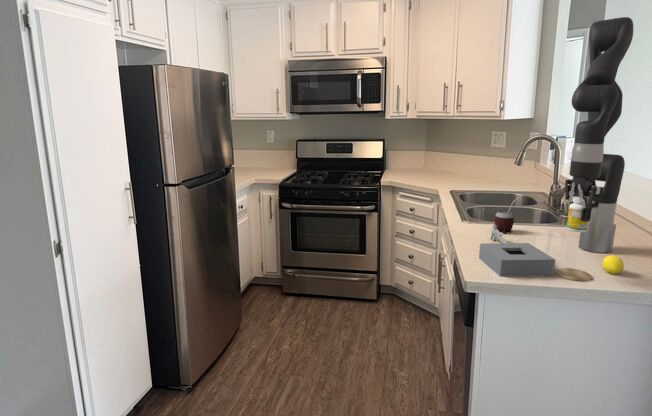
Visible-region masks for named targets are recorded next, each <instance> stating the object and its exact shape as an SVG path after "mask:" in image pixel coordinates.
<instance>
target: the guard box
mask: <svg viewBox="0 0 652 416" xmlns="http://www.w3.org/2000/svg"><path fill="white" fill-rule="evenodd" d="M478 252H479V253H478V259H479V260H480V261H482V262H483V264H485V265H486V266H487V267H488V268H490V269H491V270H492V271H493V272H494V273H496V274H497V275H498V276H499V277H538V276H539V277H545V276H546V277H547V276H549V277H553V276H554V275H555V274H554V273H555V265H556V259H555V258H554V257H552V256H550V255H549V254H547V253H545V252H544V251H542V250H541V249H538V248H537V247H536V246H534V245H532V244H530V243H529V242H519V243H518V242H508V243H501V242H497V243H496V242H495V243H494V242H493V243H488V242H487V243H486V242H485V243H483V242H482V243H481V242H480V243H479V251H478Z"/></svg>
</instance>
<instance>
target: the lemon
mask: <svg viewBox="0 0 652 416" xmlns="http://www.w3.org/2000/svg"><path fill="white" fill-rule="evenodd" d="M624 265H625V264H624V261H623V259H622V258H621V257H619V256H618V255H611V254H610V255H607V256H605V257H604V258H603V260H602V263H601V266H602V267H603V268H602V269H603V270H604V271H605V272H607V273H608V272H609V274H612V275H615V274H616V275H617V274H619V273H621V272H622V271H624V267H625V266H624Z"/></svg>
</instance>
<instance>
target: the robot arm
mask: <svg viewBox="0 0 652 416" xmlns="http://www.w3.org/2000/svg"><path fill="white" fill-rule="evenodd" d="M588 35H589V36H588V37H589V38H588V40H589V41H588V42H589V43H588V48H589V49H588V50H589V53H588V55H589V68H588V71H587V74H586V77H585V78H584V79H583V80H582V81H581V83H580V84H578V86H577V87H576V88H575V90H574V92H573V94H572V96H571V106H572V107H573V109H574V110H575V111H576V112H580V113H587V120H584V121H580V122H577V124H576V127H575V133H574V135H575V136H574V142H573V147H572V150H571V155H570V156H571V158H570V164H569V165H570V166H569V176H570V177H572V179H566V180H565V183H564V187H565V188H564V189H565V191H564V199H565V200H567V201H568V204H569V206H570V205H571V204H573V203H574V202H573V197H574V196H580V200H581V201H582V205H583V208H582V214H581V221H583V222H588V221H589V225H588V231H587V232H579V241H578V248H579V249H581V250H583V251H587V252H591V253H599V254H600V253H603V254H604V253H609V252H613V247H614V243H615V242H614V240H615V236H616V235H615V234H616V227H617V225H616V224H615V217H616V216H615V215H616V211H617V202H618V197H619V195H620V191H621V185H622V181H623V177H624V171H625V164H626V162H625V161H626V160H625V158H624V157H623V156H622V155H621V154H613V153H612V154H610V153H605V152H604V150H605V149H604V147H605V145H604V144H605V138H606V136H607V134H609V131H610V130H611V129H612V128H613V127H614V126H615V125H616V123H617V122H618V120H619V119H620V118H621V115H622V110H623V91H622V89H621V87H620V85H619V84H618V82H616V78H617V74H618V69H619V67H620V64H621V63H622V61H623V60H624V57H625V56H626V53H628V50H629V48H630V46H631V44H632V41H633V38H634V22H633V19H632V18H631V17H629V16H625V17H624V16H623V17H615V18H610V19H605V20H604V19H603V20H598V21H597V20H596V21H594V22H592V24H591V26H590V28H589V34H588ZM596 181H597V182H604V186H597V183H596ZM586 200H588V203H587V202H586Z"/></svg>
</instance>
